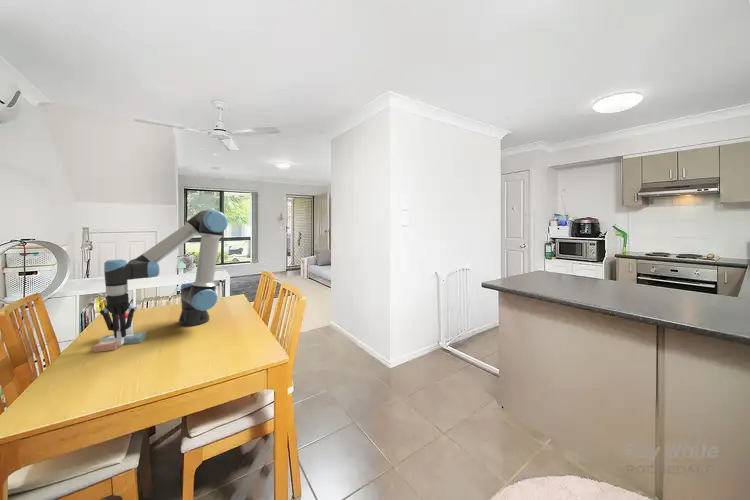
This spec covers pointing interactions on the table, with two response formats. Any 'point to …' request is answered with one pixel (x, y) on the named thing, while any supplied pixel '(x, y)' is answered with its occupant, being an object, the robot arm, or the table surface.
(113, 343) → the pink labeled box
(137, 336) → the blue labeled box
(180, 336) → the table surface
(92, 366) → the table surface
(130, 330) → the pill bottle
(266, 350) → the table surface
